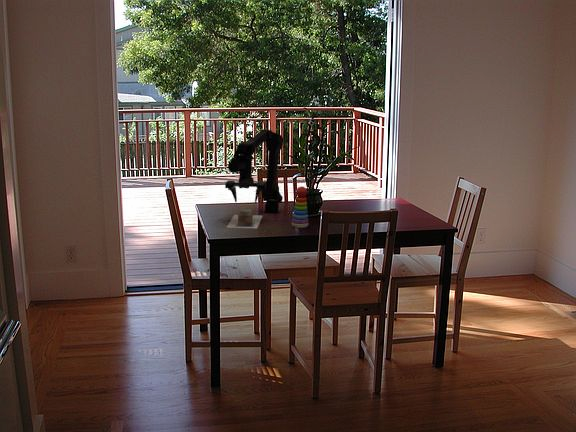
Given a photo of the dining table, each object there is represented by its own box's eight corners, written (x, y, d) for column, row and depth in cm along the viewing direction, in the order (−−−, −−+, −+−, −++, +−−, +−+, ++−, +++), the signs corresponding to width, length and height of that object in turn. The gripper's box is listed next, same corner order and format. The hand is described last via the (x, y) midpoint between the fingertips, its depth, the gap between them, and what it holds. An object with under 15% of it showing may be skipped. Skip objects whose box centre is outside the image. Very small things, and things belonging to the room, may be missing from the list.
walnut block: (252, 223, 320) (252, 212, 319) (251, 226, 314) (251, 215, 313) (239, 222, 320) (239, 212, 319) (238, 225, 314) (237, 215, 313)
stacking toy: (296, 228, 314) (297, 188, 310) (288, 225, 321) (288, 185, 317) (311, 227, 318) (312, 187, 314) (303, 223, 325) (303, 184, 321)
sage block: (251, 219, 328) (251, 209, 327) (250, 221, 323) (250, 211, 322) (241, 219, 328) (241, 209, 327) (239, 221, 324) (239, 211, 323)
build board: (262, 217, 337) (262, 215, 337) (256, 230, 311) (257, 228, 311) (234, 216, 338) (234, 214, 338) (226, 229, 312) (226, 227, 312)
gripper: (223, 172, 313) (223, 205, 317) (264, 173, 312) (263, 206, 316) (226, 168, 324) (227, 201, 328) (266, 169, 323) (266, 201, 327)
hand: (245, 202), depth 324 cm, fingers open, 9 cm apart
